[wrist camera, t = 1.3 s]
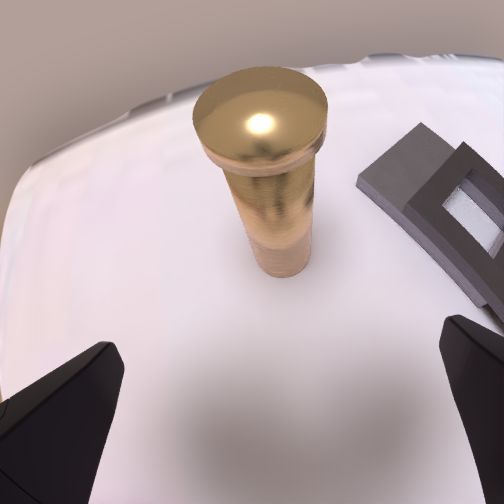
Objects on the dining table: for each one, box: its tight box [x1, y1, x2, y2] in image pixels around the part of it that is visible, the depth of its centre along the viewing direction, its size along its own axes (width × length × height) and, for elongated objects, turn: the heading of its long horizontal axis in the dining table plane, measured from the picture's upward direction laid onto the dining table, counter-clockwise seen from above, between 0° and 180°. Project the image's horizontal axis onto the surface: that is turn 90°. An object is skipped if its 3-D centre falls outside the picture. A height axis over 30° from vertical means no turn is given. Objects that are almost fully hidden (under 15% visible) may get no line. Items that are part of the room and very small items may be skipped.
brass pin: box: [193, 67, 328, 278], centre depth 17 cm, size 5×5×14 cm
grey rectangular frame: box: [356, 122, 504, 323], centre depth 20 cm, size 18×10×3 cm, turn 39°
